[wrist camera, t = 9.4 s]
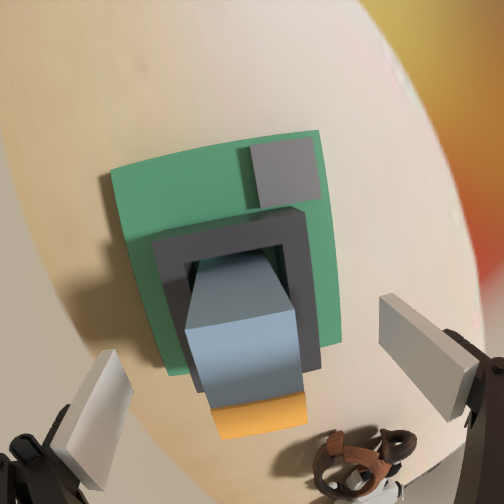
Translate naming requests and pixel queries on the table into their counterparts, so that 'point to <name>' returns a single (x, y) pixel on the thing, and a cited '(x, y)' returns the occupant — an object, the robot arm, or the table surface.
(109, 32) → the table surface
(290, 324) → the plug
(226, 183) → the circuit board
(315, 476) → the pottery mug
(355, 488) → the robot toy
